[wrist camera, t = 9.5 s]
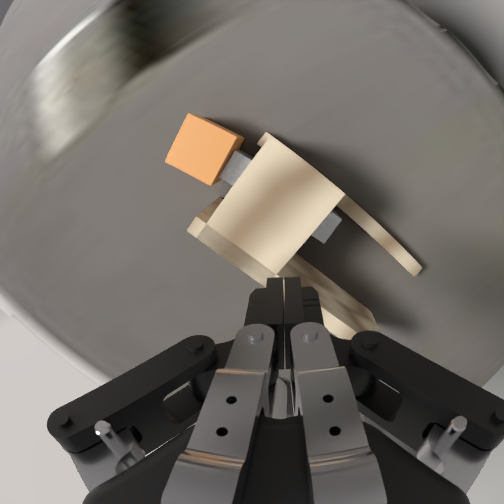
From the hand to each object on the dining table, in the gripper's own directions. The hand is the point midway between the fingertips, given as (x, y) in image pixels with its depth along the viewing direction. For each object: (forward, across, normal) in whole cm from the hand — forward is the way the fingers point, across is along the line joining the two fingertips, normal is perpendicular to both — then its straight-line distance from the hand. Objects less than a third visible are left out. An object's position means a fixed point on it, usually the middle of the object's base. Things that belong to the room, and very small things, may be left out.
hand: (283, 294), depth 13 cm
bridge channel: (+18, -4, +4) cm, 19 cm away
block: (+19, +7, -6) cm, 21 cm away
